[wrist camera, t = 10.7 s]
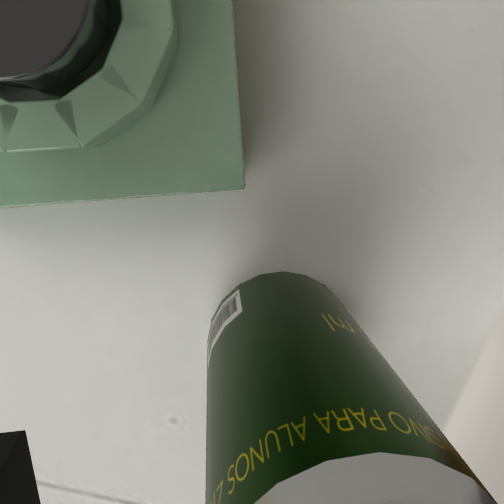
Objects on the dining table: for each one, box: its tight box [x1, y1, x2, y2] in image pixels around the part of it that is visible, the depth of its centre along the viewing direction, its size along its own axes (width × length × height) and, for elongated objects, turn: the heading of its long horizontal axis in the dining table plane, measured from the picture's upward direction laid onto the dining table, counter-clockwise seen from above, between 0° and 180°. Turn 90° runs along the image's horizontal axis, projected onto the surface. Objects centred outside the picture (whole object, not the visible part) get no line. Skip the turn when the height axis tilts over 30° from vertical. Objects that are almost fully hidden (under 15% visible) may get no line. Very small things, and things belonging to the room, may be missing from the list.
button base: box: [0, 0, 246, 208], centre depth 13 cm, size 10×10×5 cm
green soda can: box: [206, 272, 497, 504], centre depth 13 cm, size 5×5×12 cm
